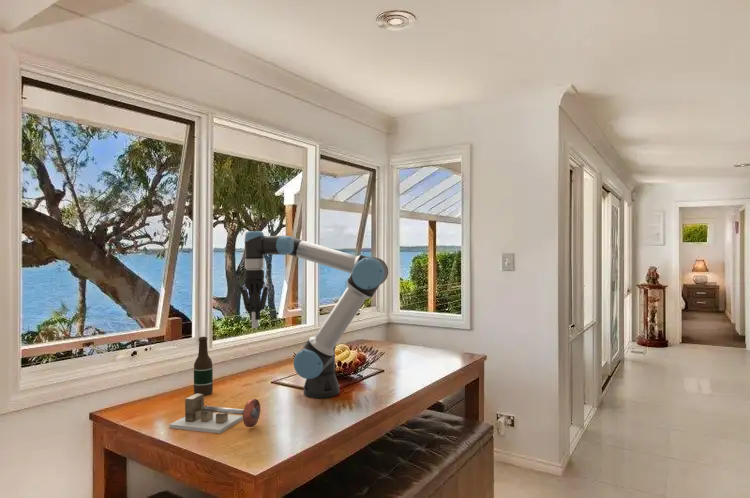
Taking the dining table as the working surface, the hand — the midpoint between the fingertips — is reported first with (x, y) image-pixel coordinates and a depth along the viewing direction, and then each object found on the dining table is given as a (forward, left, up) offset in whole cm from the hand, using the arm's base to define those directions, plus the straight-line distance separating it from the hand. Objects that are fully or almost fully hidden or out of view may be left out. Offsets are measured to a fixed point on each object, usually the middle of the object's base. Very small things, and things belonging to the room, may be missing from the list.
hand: (255, 327), depth 197 cm
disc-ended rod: (-6, +28, -29) cm, 41 cm away
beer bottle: (+26, -3, -30) cm, 40 cm away
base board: (+3, +28, -29) cm, 41 cm away
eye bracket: (+3, +28, -28) cm, 40 cm away
